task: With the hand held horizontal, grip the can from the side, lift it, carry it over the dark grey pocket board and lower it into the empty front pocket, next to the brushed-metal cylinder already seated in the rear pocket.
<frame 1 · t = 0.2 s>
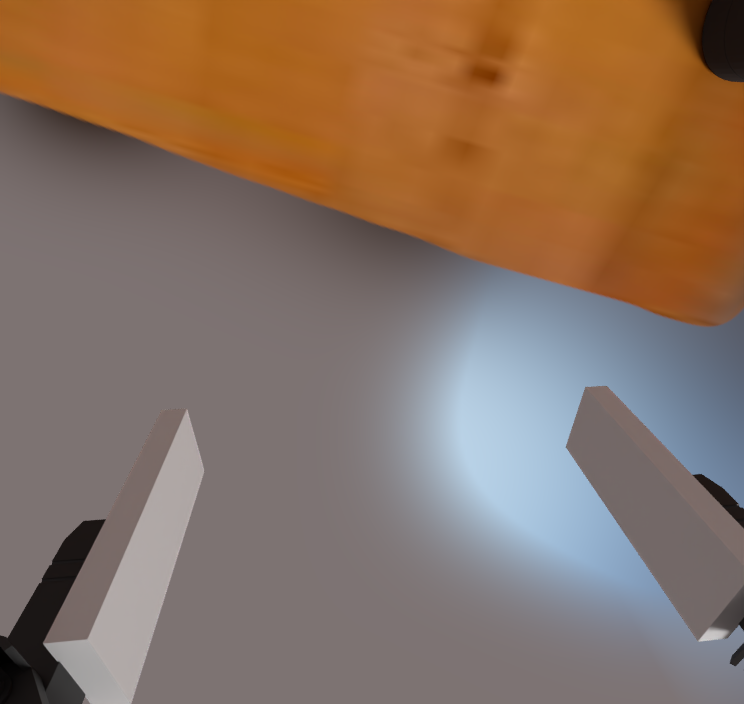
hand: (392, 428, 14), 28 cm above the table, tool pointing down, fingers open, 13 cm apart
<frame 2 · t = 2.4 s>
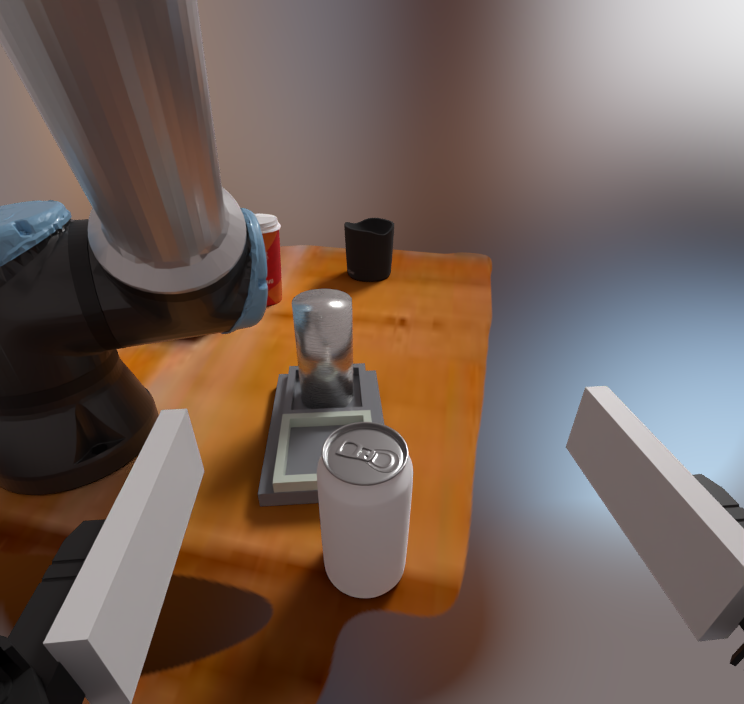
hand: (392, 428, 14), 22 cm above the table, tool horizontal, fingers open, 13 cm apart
can: (364, 561, 34), on the table
paper cup: (266, 300, 75), on the table
pocket board: (328, 432, 46), on the table
seated cylinder: (328, 406, 50), resting on pocket board
pen holder: (369, 275, 86), on the table
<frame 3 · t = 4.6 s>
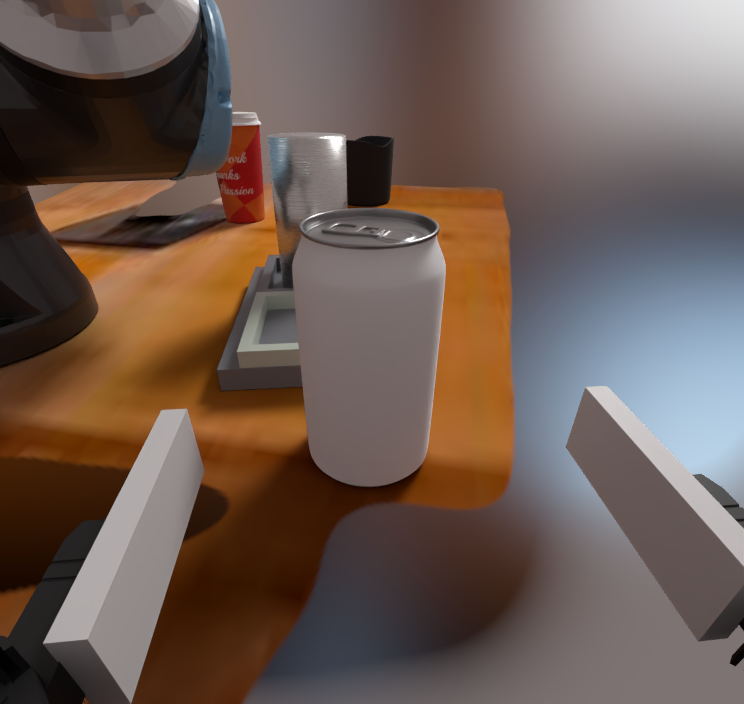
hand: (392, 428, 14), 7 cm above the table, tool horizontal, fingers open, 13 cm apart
can: (368, 448, 23), on the table
paper cup: (246, 220, 65), on the table
pocket board: (316, 321, 36), on the table
seated cylinder: (317, 299, 40), resting on pocket board
pen holder: (365, 202, 76), on the table
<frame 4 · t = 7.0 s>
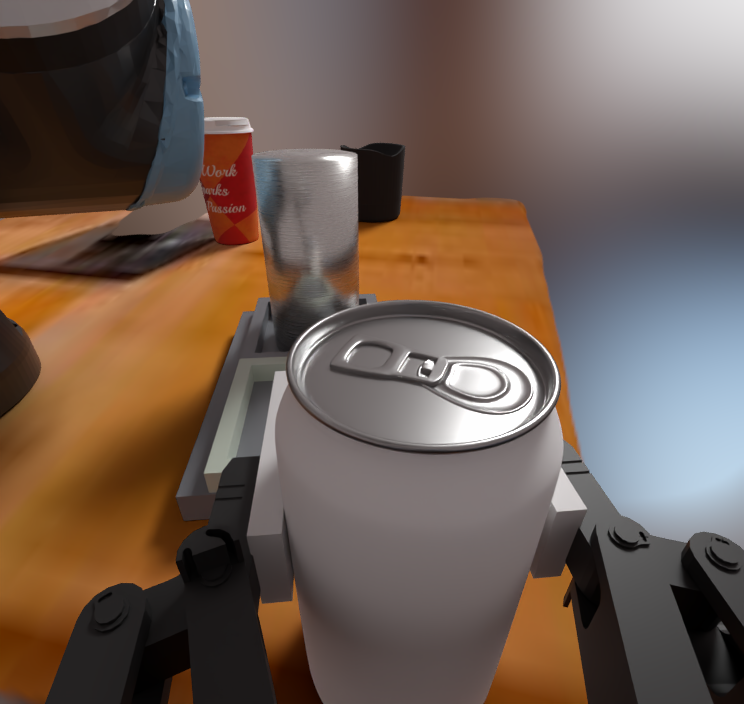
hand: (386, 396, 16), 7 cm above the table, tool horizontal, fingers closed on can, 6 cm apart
can: (398, 642, 15), on the table, touching gripper
paper cup: (237, 240, 57), on the table
pocket board: (318, 392, 28), on the table
seated cylinder: (319, 356, 32), resting on pocket board
pen holder: (372, 217, 68), on the table
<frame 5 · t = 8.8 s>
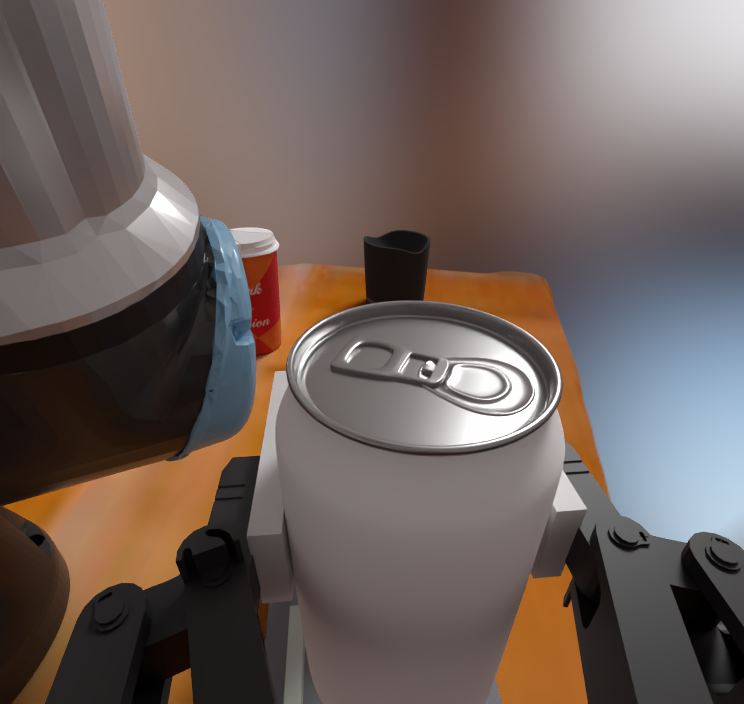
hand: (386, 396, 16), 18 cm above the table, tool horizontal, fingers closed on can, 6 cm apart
can: (398, 643, 15), point 10 cm above the table, touching gripper
paper cup: (259, 345, 55), on the table
pocket board: (371, 625, 26), on the table
pen holder: (394, 304, 66), on the table
when the fingers open (10 cm above the table, at t = 10.7 s): can drops 2 cm, resting on pocket board.
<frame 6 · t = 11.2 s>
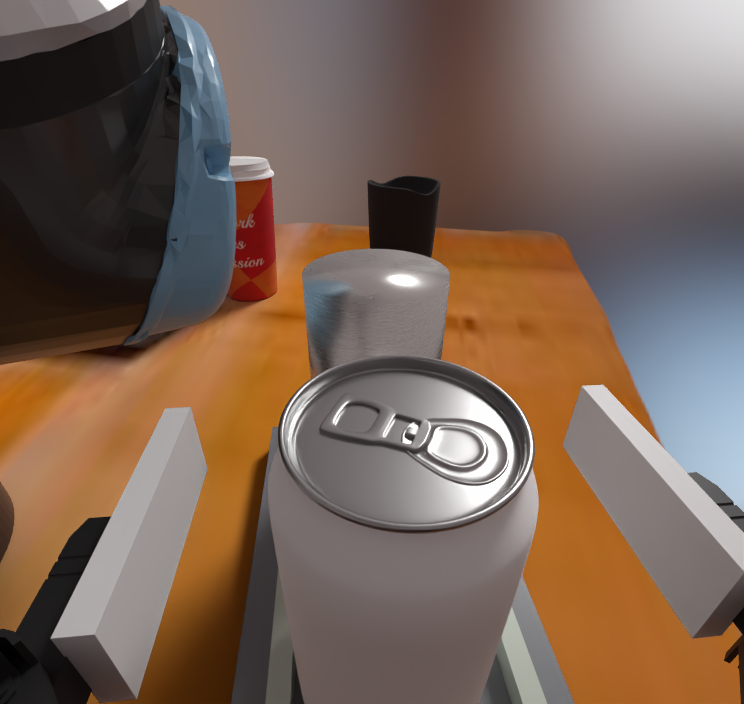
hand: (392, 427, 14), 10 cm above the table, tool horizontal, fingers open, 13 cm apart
can: (388, 669, 16), point 1 cm above the table, touching pocket board
paper cup: (253, 293, 50), on the table
pocket board: (382, 571, 21), on the table
seated cylinder: (373, 496, 25), resting on pocket board
pen holder: (400, 257, 61), on the table
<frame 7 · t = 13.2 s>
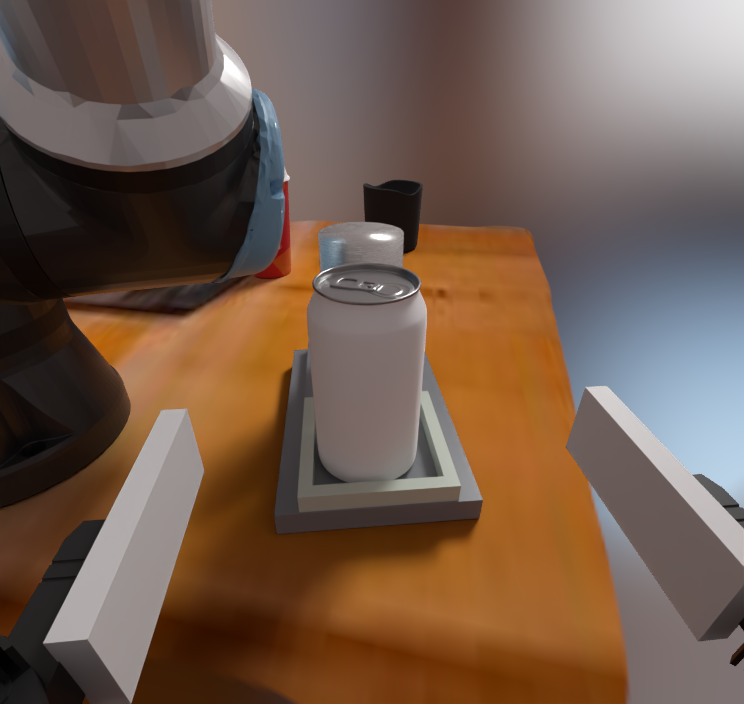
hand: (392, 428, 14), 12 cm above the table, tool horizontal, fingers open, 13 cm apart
can: (367, 454, 28), point 1 cm above the table, touching pocket board
paper cup: (272, 273, 62), on the table
pocket board: (367, 424, 33), on the table
seated cylinder: (362, 390, 37), resting on pocket board
pen holder: (391, 247, 73), on the table
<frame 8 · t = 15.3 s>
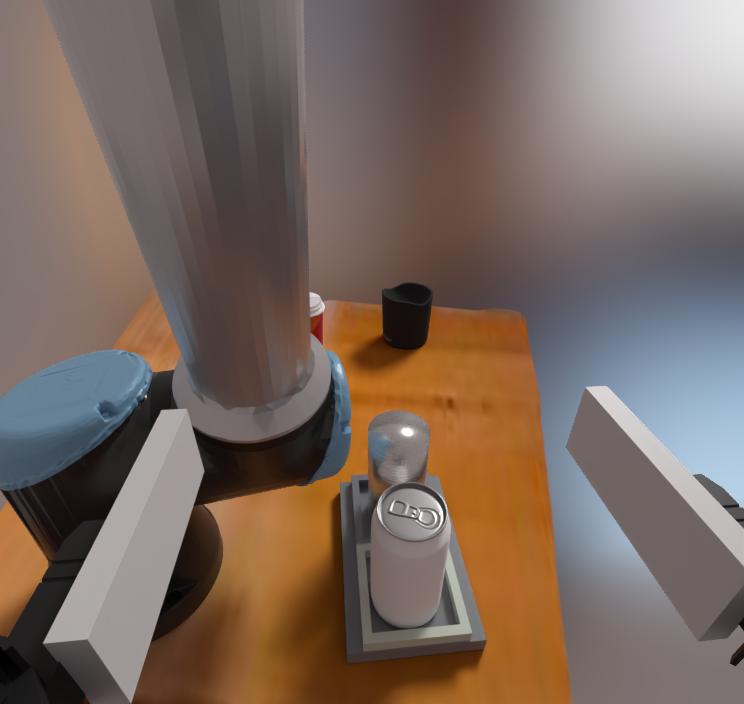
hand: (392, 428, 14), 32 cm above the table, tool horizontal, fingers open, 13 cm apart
can: (404, 595, 40), point 1 cm above the table, touching pocket board
paper cup: (306, 375, 74), on the table
pocket board: (400, 557, 45), on the table
seated cylinder: (394, 520, 49), resting on pocket board
pen holder: (405, 339, 85), on the table
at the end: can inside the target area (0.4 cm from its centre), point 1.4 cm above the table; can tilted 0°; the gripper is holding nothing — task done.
